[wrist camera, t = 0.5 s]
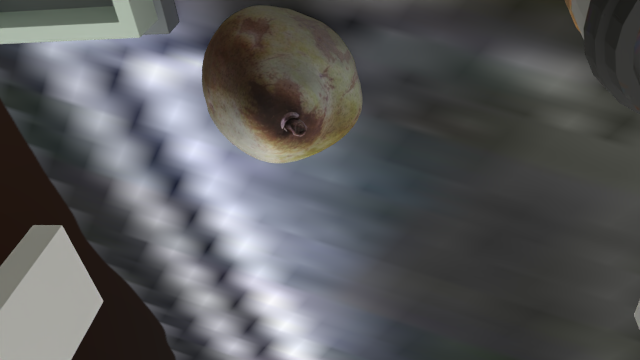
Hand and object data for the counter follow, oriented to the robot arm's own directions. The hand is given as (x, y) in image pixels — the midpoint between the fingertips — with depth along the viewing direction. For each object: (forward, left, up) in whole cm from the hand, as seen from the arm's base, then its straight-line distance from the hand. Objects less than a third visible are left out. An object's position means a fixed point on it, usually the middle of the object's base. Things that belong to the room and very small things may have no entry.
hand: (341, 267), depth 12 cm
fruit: (+7, -7, -26) cm, 28 cm away
